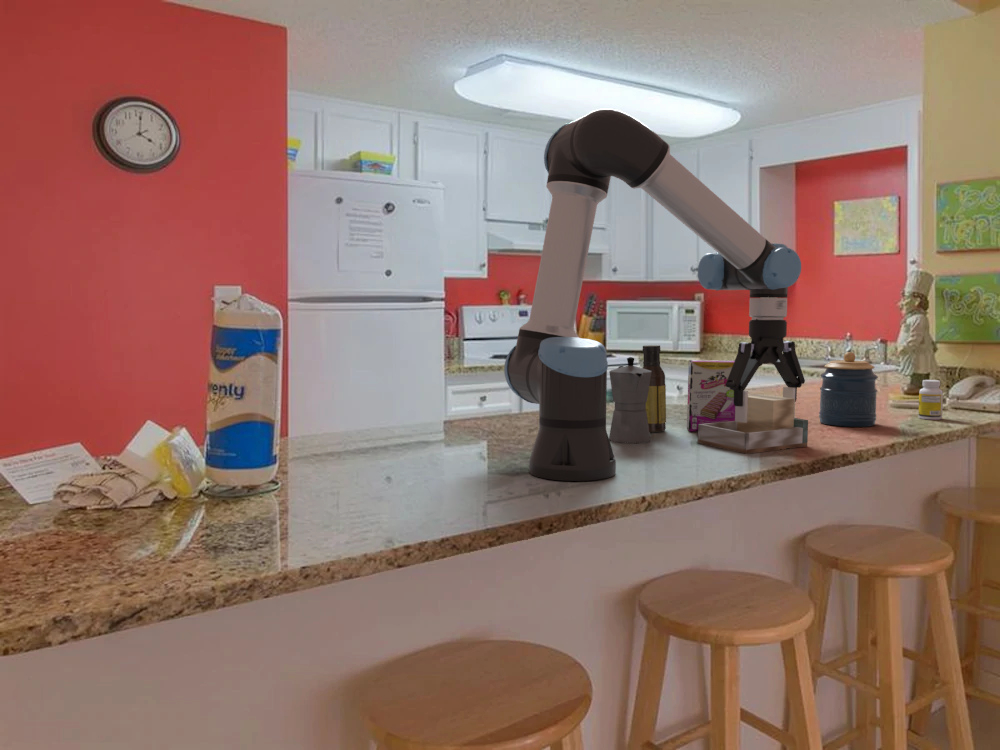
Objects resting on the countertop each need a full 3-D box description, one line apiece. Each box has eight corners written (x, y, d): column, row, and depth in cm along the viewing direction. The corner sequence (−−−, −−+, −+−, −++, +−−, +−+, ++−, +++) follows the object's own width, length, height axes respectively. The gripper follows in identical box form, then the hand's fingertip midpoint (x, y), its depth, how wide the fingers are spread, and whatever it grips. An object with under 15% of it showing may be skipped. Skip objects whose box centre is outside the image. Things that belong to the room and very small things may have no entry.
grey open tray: (746, 453, 161) (746, 426, 161) (697, 442, 173) (698, 417, 173) (807, 446, 169) (808, 420, 168) (756, 436, 181) (757, 412, 181)
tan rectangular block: (772, 444, 167) (773, 400, 166) (736, 437, 176) (737, 395, 175) (793, 441, 170) (794, 398, 169) (757, 435, 178) (758, 394, 178)
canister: (808, 420, 206) (810, 350, 204) (854, 419, 208) (857, 350, 207) (838, 428, 193) (841, 353, 191) (887, 426, 195) (890, 353, 194)
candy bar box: (688, 432, 188) (690, 361, 186) (686, 429, 193) (687, 359, 191) (738, 433, 186) (740, 361, 185) (734, 429, 191) (736, 359, 190)
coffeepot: (660, 444, 171) (662, 359, 170) (616, 445, 170) (618, 359, 169) (638, 433, 187) (639, 354, 185) (598, 434, 185) (598, 354, 184)
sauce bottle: (659, 428, 194) (661, 344, 192) (670, 432, 188) (671, 345, 186) (634, 429, 193) (635, 344, 191) (643, 433, 186) (644, 345, 185)
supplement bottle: (923, 416, 213) (925, 379, 212) (945, 418, 209) (947, 380, 208) (914, 418, 210) (916, 380, 209) (936, 420, 205) (938, 381, 204)
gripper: (736, 319, 161) (733, 426, 163) (824, 318, 173) (821, 417, 175) (709, 319, 168) (707, 421, 170) (796, 317, 180) (793, 413, 181)
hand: (765, 419), depth 172 cm, fingers open, 13 cm apart
